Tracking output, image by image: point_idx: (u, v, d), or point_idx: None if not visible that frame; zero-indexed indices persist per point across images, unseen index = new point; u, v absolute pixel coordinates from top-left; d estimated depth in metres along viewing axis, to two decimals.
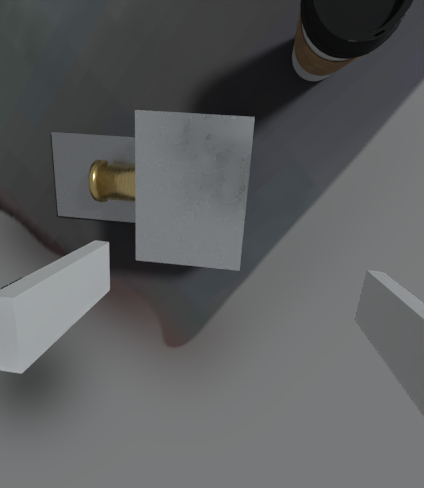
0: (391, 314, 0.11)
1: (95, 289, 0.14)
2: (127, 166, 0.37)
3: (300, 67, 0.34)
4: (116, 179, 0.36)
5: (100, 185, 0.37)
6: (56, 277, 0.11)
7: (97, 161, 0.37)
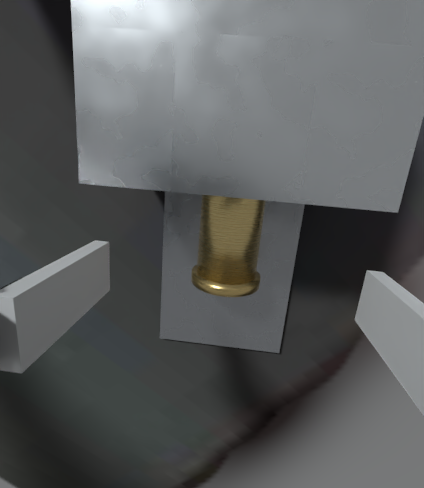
0: (390, 314, 0.11)
1: (95, 289, 0.14)
2: (201, 230, 0.22)
3: None
4: (219, 249, 0.21)
5: (230, 277, 0.21)
6: (56, 277, 0.11)
7: (192, 278, 0.23)
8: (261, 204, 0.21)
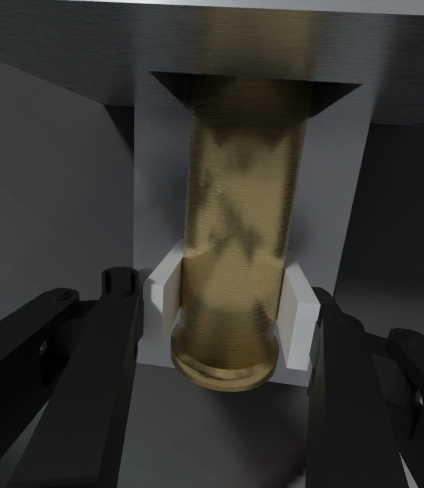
0: None
1: None
2: (183, 276, 0.13)
3: None
4: (212, 313, 0.12)
5: (230, 359, 0.13)
6: (176, 270, 0.12)
7: (171, 350, 0.14)
8: (284, 237, 0.12)
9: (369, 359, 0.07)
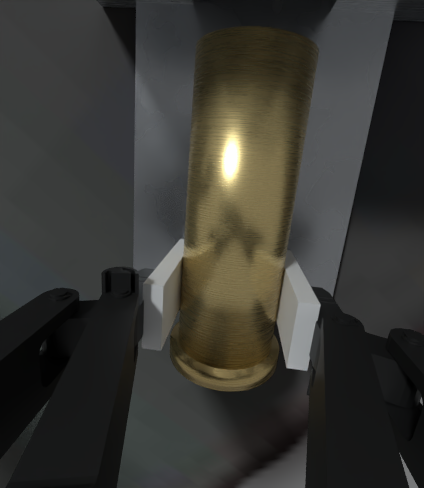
0: None
1: None
2: (183, 275, 0.13)
3: None
4: (212, 312, 0.12)
5: (230, 358, 0.13)
6: (176, 270, 0.12)
7: (171, 349, 0.14)
8: (284, 237, 0.12)
9: (369, 359, 0.07)
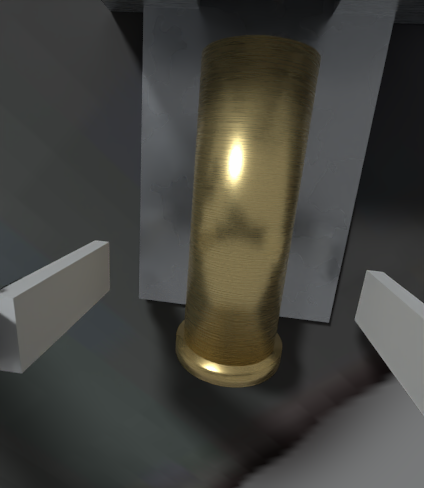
0: (390, 314, 0.11)
1: (95, 289, 0.14)
2: (189, 275, 0.14)
3: None
4: (217, 310, 0.13)
5: (234, 355, 0.13)
6: (56, 277, 0.11)
7: (177, 347, 0.15)
8: (287, 237, 0.12)
9: None
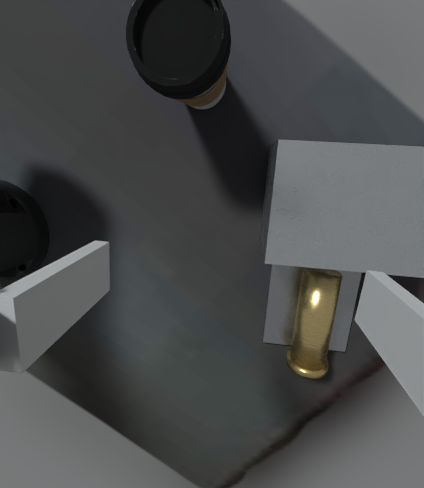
0: (391, 314, 0.11)
1: (95, 289, 0.14)
2: (295, 339, 0.39)
3: (217, 97, 0.33)
4: (309, 352, 0.38)
5: (314, 367, 0.38)
6: (56, 277, 0.11)
7: (289, 364, 0.40)
8: (332, 328, 0.37)
9: None
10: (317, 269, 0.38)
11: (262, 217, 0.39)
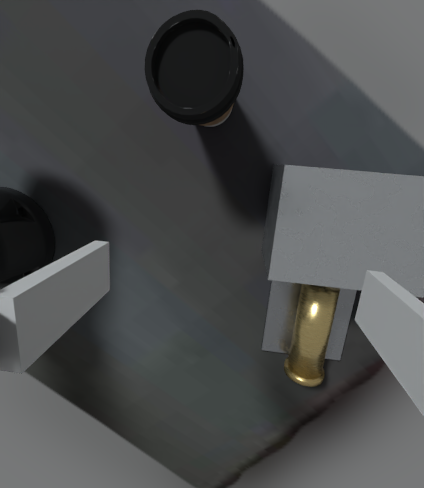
0: (391, 314, 0.11)
1: (95, 289, 0.14)
2: (293, 348, 0.40)
3: None
4: (306, 362, 0.39)
5: (310, 376, 0.40)
6: (56, 277, 0.11)
7: (287, 372, 0.41)
8: (328, 339, 0.39)
9: None
10: None
11: (264, 231, 0.40)
